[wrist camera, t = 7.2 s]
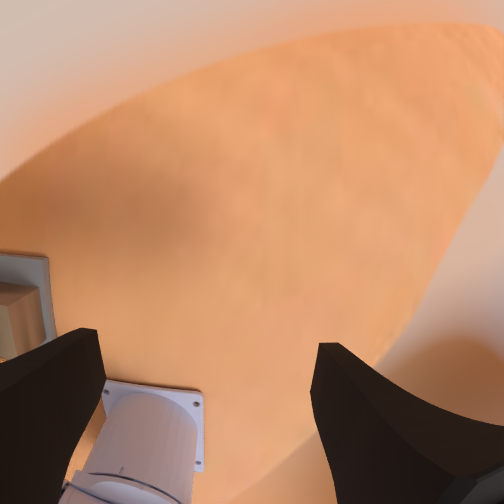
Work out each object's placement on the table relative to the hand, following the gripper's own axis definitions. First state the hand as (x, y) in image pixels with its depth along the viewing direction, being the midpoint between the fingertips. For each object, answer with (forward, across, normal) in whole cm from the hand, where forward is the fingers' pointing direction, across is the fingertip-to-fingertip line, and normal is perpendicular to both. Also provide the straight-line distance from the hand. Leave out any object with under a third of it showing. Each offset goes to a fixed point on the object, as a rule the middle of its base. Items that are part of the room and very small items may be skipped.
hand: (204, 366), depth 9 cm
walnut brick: (+9, +17, +4) cm, 20 cm away
